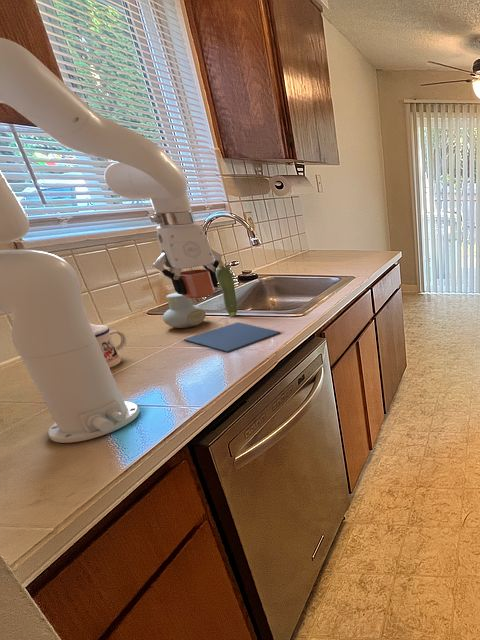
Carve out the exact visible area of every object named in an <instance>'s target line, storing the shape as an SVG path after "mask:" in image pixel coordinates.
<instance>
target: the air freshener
mask: <svg viewBox="0 0 480 640" xmlns="http://www.w3.org/2000/svg"><path fill="white" fill-rule="evenodd" d="M165 298H166V302H167V304H168V307H169V308H168V309H167V310H166V311H165V312H164V313H163V315H162V320H163V322H164V324H166V325H167V326H169V327H171V328H175V329H188V328H193V327H197V326H199V325H200V324H201V323H202V322H203V321H204V320H205V319H206V315H207V314H206V311H205V309H203V308H202V307H200V306H198V305H195V304H194V303H193V301H192V298H186V297H185V296H183V295H181V294H178V293H177V292H173V293H169V294H167V295H166V296H165Z"/></svg>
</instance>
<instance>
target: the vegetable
mask: <svg viewBox="0 0 480 640" xmlns="http://www.w3.org/2000/svg"><path fill="white" fill-rule="evenodd" d="M215 275H216V278H217V281H218V284H219V286H220V288H221V292H222V296H223V303H224V307H225V310H226V312H227V313H228V316H229V317H236V316H237V312H238V300H237V296H236V289H235V281H234V276H233V274H232V272H231V270H230V269H229V268H228V267H226V266H225V265H224V262H223V261H222V259H221V260H220V262H219V265H218V267H217V269H216V272H215Z"/></svg>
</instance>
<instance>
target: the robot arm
mask: <svg viewBox="0 0 480 640" xmlns="http://www.w3.org/2000/svg"><path fill="white" fill-rule="evenodd" d="M0 104H3V105H7V106H8V107H10V108H12V109H14V110H15V111H16V112H17V113H19V114H20V115H21V116H23V117H24V118H25V119H26V120H28V121H29V122H30V123H32V124H33V125H35V127H38V128H39V129H40V130H41V131H42V132H44V133H45V134H46V135H47V136H49V137H50V138H51V139H52V140H54V141H55V142H57V143H58V144H59V145H61V146H63V147H65V148H66V149H69V150H72V151H74V152H78V153H81V154H85V155H88V156H92V157H96V158H100V159H105V160H110V161H113V162H114V163H111V164H110V165H108V166H107V167H106V168H105V170H104V175H103V177H104V178H103V179H104V181H105V184H106V186H107V187H108V188H109V190H110V191H112V193H114V194H115V195H117V196H119V197H121V198H123V199H128V200H150V203H151V205H152V209H153V212H154V213H153V216H150V217H149V220H150V222H151V223H155V224H157V225H158V226H156V236H157V242H158V247H159V252H160V256H159V257H158V258H157V259H156V260H155V261H154V262H153V264H152V265H151V266H152V268H153V269H154V270H156V271H157V272H159V273H160V274H161V275H162V276H165V277H166V278H168V279H170V280H171V282H172V285H173V288H174V291H175V293H178V294H181V295H186V294H187V291H186V288H185V285H184V282H183V280H182V279H180V273H181V272H182V270H184V269H191V268H196V267H202V269H207V270H209V271H210V275H211V278H212V282H213V285H214V288H215V289H217V288H219V285H218V284H219V282H218V280H217V277H216V270H217V269H218V265H219V262H220V260H222V257H223V256H222V254H221V253H219V252H217V251H215V250H213V249H212V248H211V244H210V243H209V240H208V238H207V236H206V233H205V231H204V230H203V229H204V228H203V227H202V226H201V224H200V223H196V220H195V219H196V218H195V216H194V213H193V209H192V207H191V202H190V199H189V196H188V193H187V189H188V182H187V179H186V177H185V174H184V173H183V170H181V168H180V167H179V166H178V164H177V163H176V162H175V161H174V160H173V158H171V157H170V156H169V155H168V154H167V153H166V151H164V149H162V148H161V147H160V146H158V144H156V143H155V142H153V141H152V140H150V139H149V138H147V137H145V136H144V135H142V134H140V133H138V132H137V131H133V130H132V129H130V128H128V127H125V126H124V125H121V124H120V123H118V122H115V121H113V120H111V119H108V118H107V117H104V116H102V115H101V114H98V112H96V111H95V110H94V109H93V108H92V107H91V106H89V105H88V103H86V102H85V101H84V100H83V99H82V98H81V97H80V96H78V94H76V92H74V91H73V90H72V89H71V88H70V87H69V86H68V85H67V84H66V83H65V82H64V81H62V80H61V79H60V78H59V77H58V76H57V75H56V74H55V73H54V72H52V71H51V69H49V68H48V67H47V66H46V64H44V63H43V62H42V61H40V59H38V58H37V57H36V56H35V55H34V54H33V53H32V52H31V51H29V50H28V49H27V48H25V47H24V46H23V45H21V44H19V43H17V42H15V41H13V40H10V39H8V38H4V37H0ZM28 218H29V217H28V216H27V213H26V212H25V209H24V208H23V205H22V204H21V203H20V201H19V199H18V197H17V196H16V194H15V192H14V191H13V189H12V187H11V186H10V184H9V182H8V181H7V179H6V178H5V176H4V174H3V172H2V171H1V170H0V244H5V243H11V242H16V241H18V240H20V239H22V238H24V237H25V236H26V235H27V234H28V232H29V229H30V221H29V219H28ZM164 265H165V267H167V268H169V269H167V268H165V267H164ZM83 299H84V298H83V293H82V287H81V282H80V279H79V276H78V274H77V271H76V270H75V268H73V266H72V265H71V264H70V263H68V262H67V261H66V260H65V259H63V258H61V257H60V256H58V255H55V254H52V253H49V252H47V251H41V250H33V249H0V313H13V322H12V328H11V339H12V343H13V346H14V348H15V350H16V351H17V353H18V356H19V357H20V358H21V360H22V363H23V364H24V366H25V368H26V370H27V372H28V373H29V375H30V377H31V379H32V380H33V383H34V385H35V386H36V388H37V390H38V392H39V394H40V396H41V398H42V400H43V401H44V403H45V405H46V407H47V409H48V410H49V412H50V414H51V416H52V418H53V420H54V423H53V424H52V425H51V426H50V427H49V428H48V430H47V435H48V437H49V439H50V440H51V441H52V442H55V443H59V444H60V443H61V444H71V443H78V442H84V441H85V442H86V441H88V440H93V439H97V438H99V437H103V436H105V435H108V434H110V433H114V432H115V431H117V430H120V429H121V428H123V427H125V426H127V425H129V424H130V423H132V422H133V421H134V420H135V419H136V418H137V417H138V416H139V414H140V408H139V406H138V404H136V403H135V402H132V401H127V400H124V397H123V396H122V393H121V391H120V388H119V386H118V384H117V381H116V379H115V377H114V375H113V372H112V371H111V368H109V366H108V364H107V361H106V359H105V357H104V355H103V352H102V350H101V348H100V346H99V343H98V341H97V339H96V337H95V335H94V332H93V330H92V328H91V325H90V324H91V323H90V320H89V318H88V315H87V311H86V308H85V305H84V300H83Z"/></svg>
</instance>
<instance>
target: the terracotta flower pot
mask: <svg viewBox="0 0 480 640" xmlns="http://www.w3.org/2000/svg"><path fill="white" fill-rule="evenodd" d="M180 279H182V280H183V282H184V285H185V288H186V291H187V294H186V295H183V296H185V297H186V298H191V299H197V298H198V299H199V298H205V297H209V296H212V295H214V294H215V292H216V288H214V285H213V282H212V278H211V275H210V271H209V270H207V269H204V268H199V269H188V270H183V271H182V270H181V273H180Z"/></svg>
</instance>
